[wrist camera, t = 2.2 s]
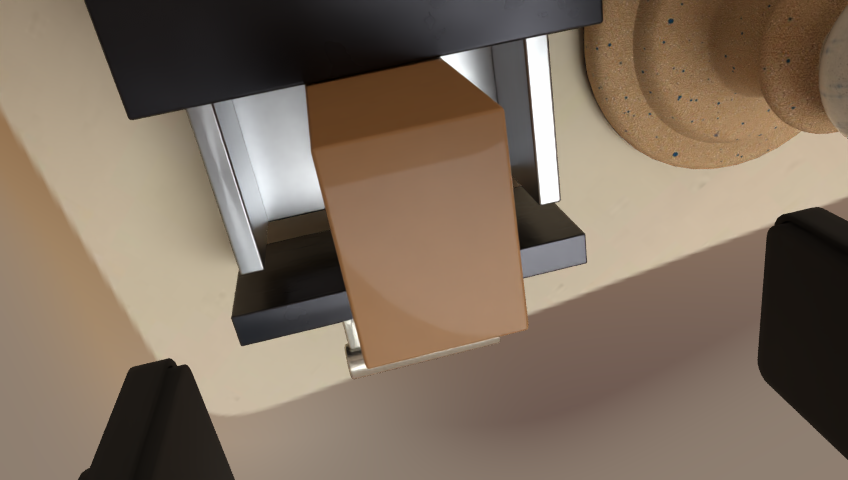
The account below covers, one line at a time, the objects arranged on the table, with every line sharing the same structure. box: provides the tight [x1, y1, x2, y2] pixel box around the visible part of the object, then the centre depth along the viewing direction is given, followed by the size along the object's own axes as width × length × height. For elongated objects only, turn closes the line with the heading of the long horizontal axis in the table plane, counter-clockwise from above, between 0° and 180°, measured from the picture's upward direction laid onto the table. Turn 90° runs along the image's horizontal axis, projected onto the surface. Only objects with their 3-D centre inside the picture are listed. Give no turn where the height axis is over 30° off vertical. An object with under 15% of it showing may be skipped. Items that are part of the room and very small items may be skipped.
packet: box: [305, 57, 528, 369], centre depth 19 cm, size 4×6×11 cm
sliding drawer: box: [186, 35, 587, 379], centre depth 24 cm, size 13×12×5 cm
